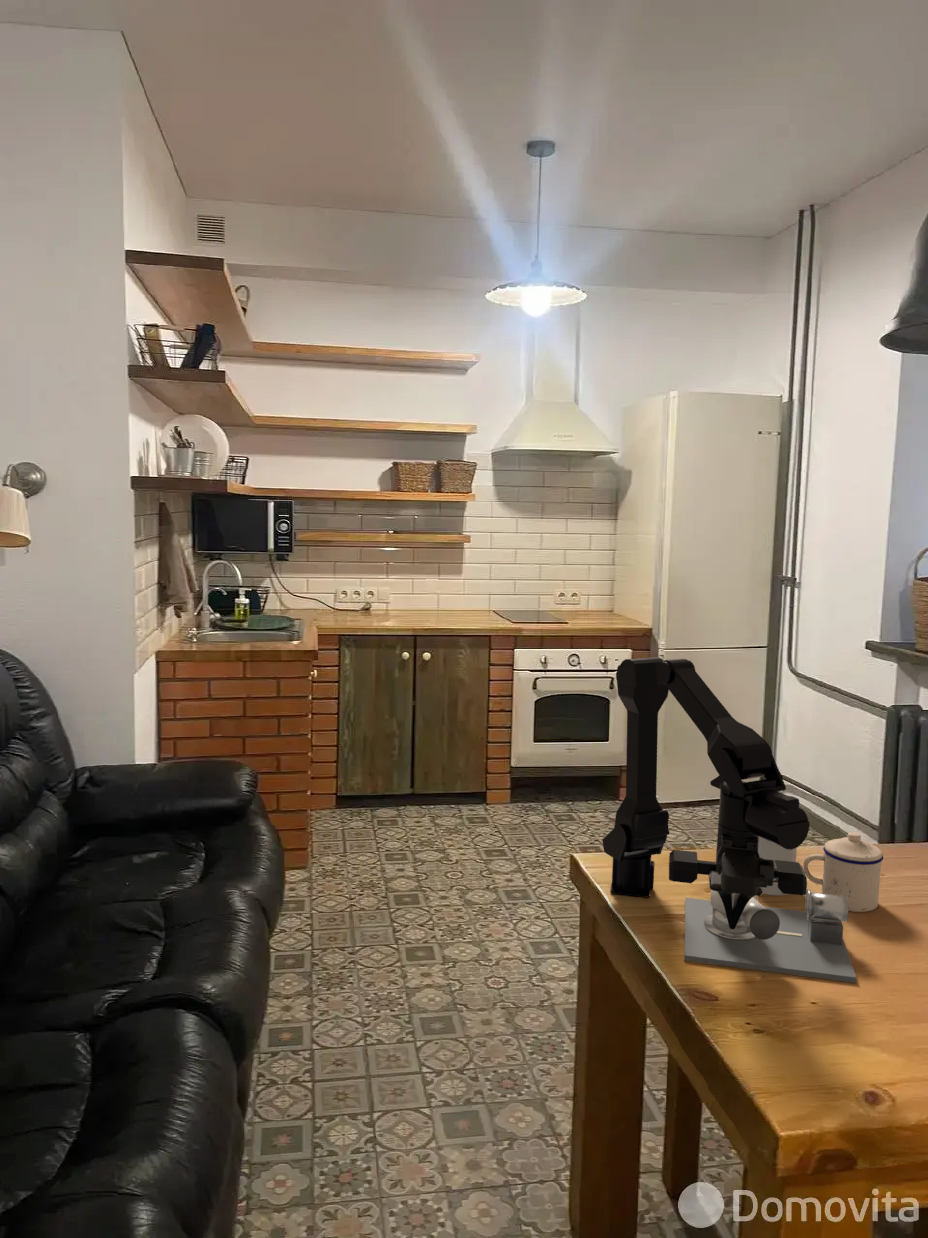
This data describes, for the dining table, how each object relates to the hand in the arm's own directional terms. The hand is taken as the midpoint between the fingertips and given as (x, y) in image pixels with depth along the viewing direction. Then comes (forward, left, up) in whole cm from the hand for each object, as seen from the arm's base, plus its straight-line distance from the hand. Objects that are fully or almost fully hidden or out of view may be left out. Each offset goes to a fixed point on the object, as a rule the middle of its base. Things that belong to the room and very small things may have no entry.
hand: (731, 928), depth 134 cm
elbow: (+2, +5, 0) cm, 5 cm away
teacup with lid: (+19, +24, -4) cm, 31 cm away
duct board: (+5, +6, -4) cm, 9 cm away
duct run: (+14, +7, -4) cm, 16 cm away
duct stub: (+1, +7, -4) cm, 8 cm away
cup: (+8, +27, -4) cm, 29 cm away
